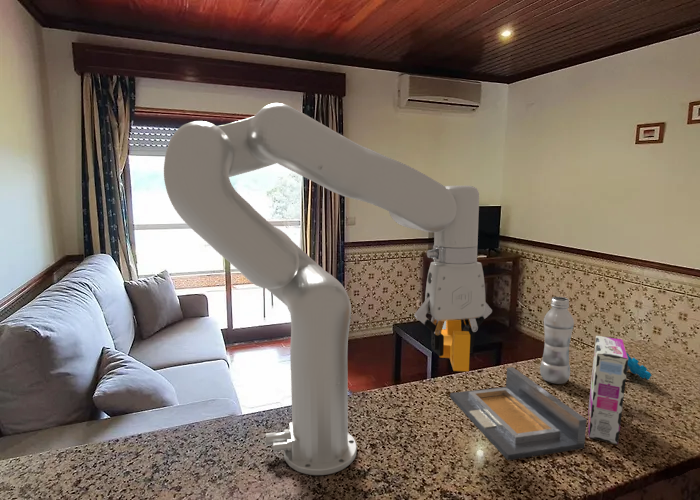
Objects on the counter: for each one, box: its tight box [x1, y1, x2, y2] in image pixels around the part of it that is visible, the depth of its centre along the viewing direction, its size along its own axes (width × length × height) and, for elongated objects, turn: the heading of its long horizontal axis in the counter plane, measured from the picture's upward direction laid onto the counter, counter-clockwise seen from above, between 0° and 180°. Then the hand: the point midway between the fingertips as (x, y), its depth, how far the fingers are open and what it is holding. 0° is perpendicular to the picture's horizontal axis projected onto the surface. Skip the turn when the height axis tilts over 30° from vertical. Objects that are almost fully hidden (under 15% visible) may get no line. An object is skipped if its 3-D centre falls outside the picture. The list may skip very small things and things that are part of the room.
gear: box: [626, 352, 653, 381], centre depth 102 cm, size 11×6×10 cm
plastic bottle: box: [539, 296, 575, 385], centre depth 99 cm, size 6×7×20 cm
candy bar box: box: [587, 335, 628, 445], centre depth 80 cm, size 11×5×16 cm, turn 152°
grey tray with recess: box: [449, 366, 588, 461], centre depth 84 cm, size 15×22×6 cm
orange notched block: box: [438, 320, 471, 372], centre depth 78 cm, size 12×4×6 cm, turn 174°
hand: (452, 350), depth 79 cm, fingers closed on orange notched block, 5 cm apart
